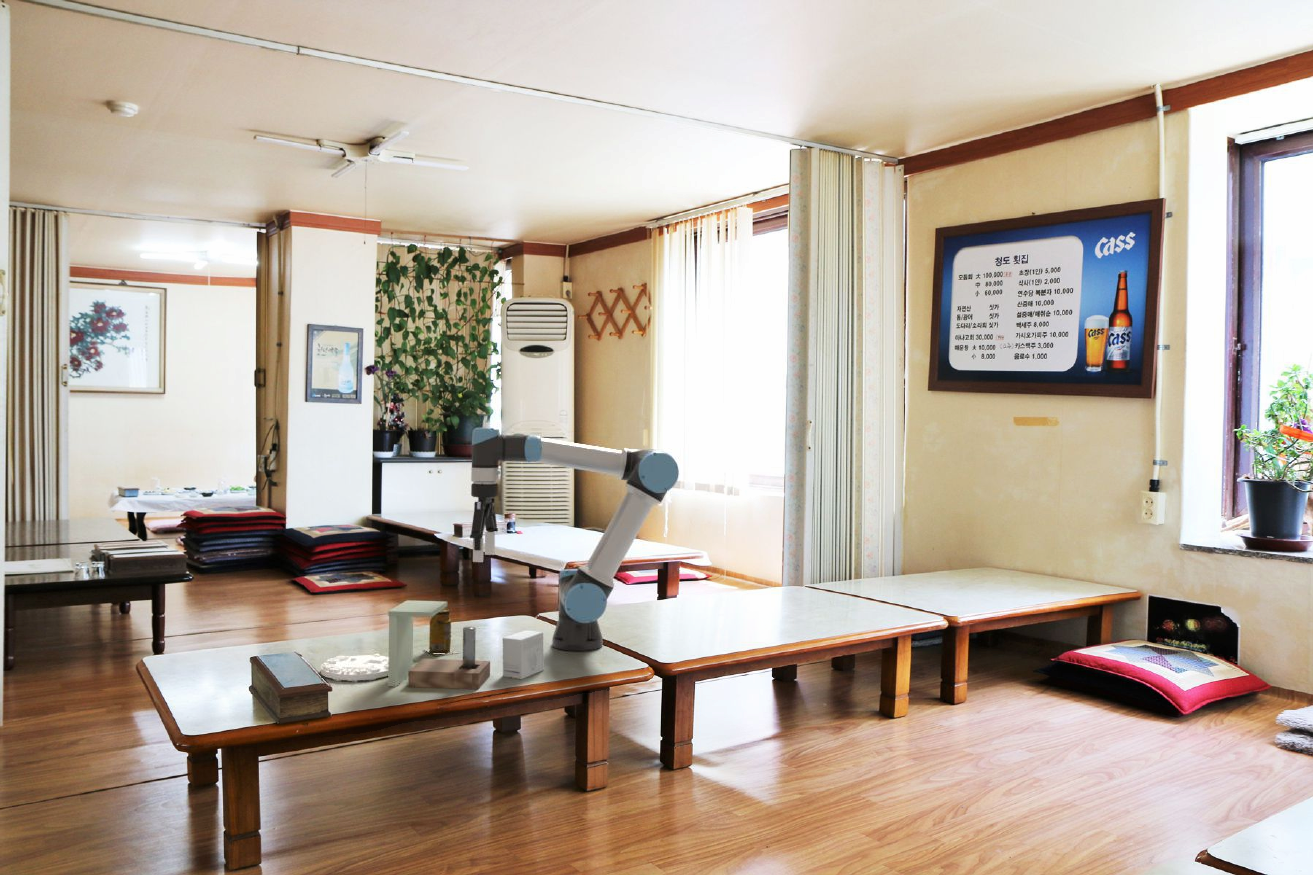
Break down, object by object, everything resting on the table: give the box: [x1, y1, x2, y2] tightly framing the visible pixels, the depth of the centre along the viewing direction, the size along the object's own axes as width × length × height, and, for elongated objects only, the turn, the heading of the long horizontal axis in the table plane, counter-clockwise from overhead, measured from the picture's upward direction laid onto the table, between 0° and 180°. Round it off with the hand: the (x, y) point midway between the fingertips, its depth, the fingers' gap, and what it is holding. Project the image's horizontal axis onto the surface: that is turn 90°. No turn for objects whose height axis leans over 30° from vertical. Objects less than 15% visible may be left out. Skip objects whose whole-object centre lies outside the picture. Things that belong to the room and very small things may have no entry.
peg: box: [462, 626, 477, 669], centre depth 242 cm, size 3×3×14 cm
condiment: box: [424, 608, 460, 657], centre depth 272 cm, size 7×8×12 cm
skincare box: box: [502, 629, 545, 680], centre depth 251 cm, size 10×6×10 cm, turn 152°
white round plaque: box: [320, 653, 389, 683], centre depth 250 cm, size 20×20×3 cm
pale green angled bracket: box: [387, 600, 448, 688], centre depth 243 cm, size 11×14×19 cm
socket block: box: [407, 658, 491, 690], centre depth 242 cm, size 18×12×4 cm, turn 86°
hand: (484, 558), depth 264 cm, fingers open, 13 cm apart
